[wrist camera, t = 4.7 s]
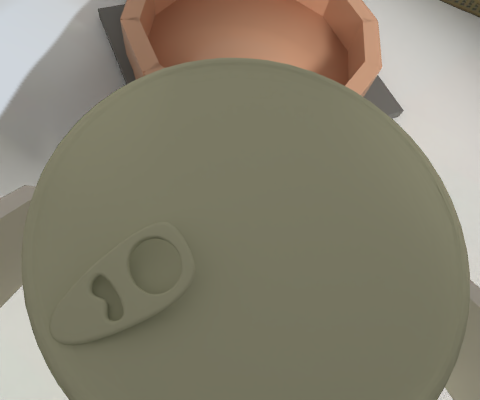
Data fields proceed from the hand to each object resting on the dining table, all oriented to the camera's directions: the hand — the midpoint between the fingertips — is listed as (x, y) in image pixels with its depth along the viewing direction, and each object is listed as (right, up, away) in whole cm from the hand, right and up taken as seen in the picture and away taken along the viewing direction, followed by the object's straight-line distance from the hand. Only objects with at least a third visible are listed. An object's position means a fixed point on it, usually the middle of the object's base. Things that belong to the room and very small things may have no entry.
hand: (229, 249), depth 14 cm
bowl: (+1, +11, +11) cm, 16 cm away
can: (-1, -4, +5) cm, 6 cm away
